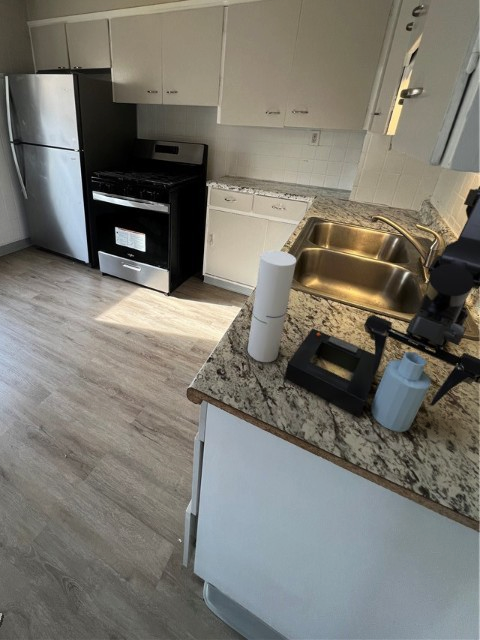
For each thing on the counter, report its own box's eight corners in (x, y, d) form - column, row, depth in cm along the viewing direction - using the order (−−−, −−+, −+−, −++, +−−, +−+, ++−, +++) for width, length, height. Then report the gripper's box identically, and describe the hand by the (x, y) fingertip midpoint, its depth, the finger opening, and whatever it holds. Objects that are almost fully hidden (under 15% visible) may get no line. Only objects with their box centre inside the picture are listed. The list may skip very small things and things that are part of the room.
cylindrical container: (278, 364, 71) (297, 267, 61) (247, 359, 73) (260, 263, 62) (277, 343, 78) (294, 252, 67) (248, 339, 79) (260, 248, 68)
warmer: (309, 342, 78) (313, 326, 76) (375, 372, 70) (381, 354, 68) (284, 378, 68) (288, 360, 66) (359, 418, 59) (366, 399, 57)
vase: (367, 397, 64) (389, 341, 58) (404, 406, 62) (430, 350, 56) (374, 425, 58) (398, 367, 52) (414, 436, 56) (444, 377, 50)
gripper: (381, 278, 58) (343, 352, 56) (518, 324, 46) (477, 421, 44) (382, 298, 67) (349, 363, 64) (498, 342, 55) (463, 424, 52)
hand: (401, 388), depth 56 cm, fingers open, 9 cm apart
